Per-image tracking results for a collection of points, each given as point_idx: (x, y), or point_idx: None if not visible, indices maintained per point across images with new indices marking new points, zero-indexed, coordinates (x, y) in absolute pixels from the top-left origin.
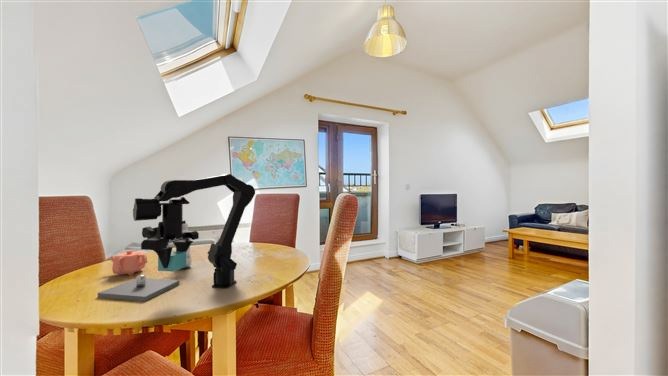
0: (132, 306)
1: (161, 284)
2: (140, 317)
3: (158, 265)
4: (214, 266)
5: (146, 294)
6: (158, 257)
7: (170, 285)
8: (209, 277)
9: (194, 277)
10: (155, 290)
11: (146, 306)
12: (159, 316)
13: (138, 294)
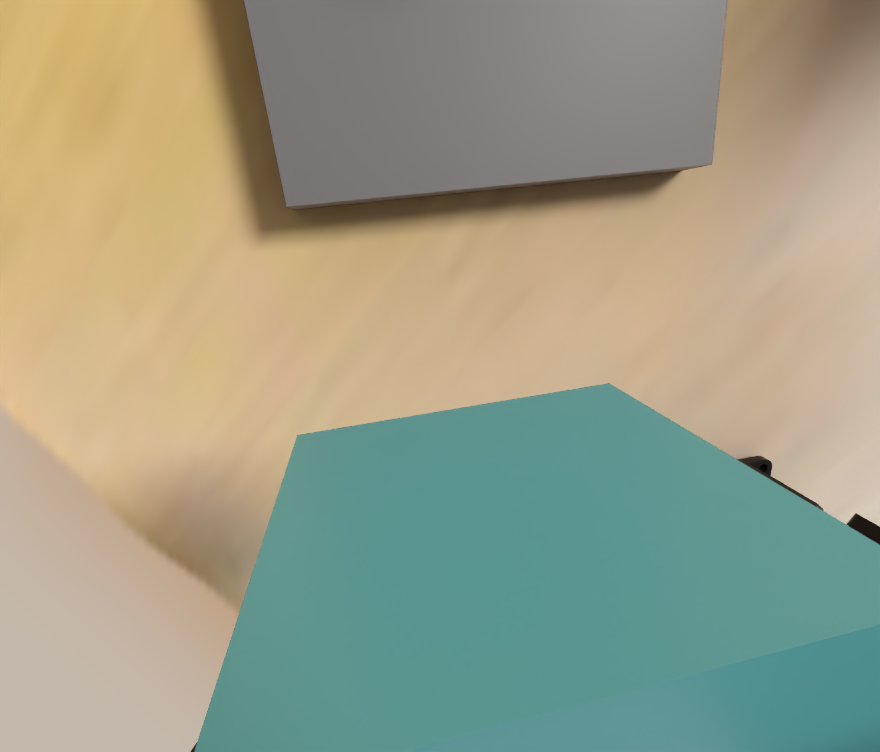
0: (175, 197)
1: (589, 66)
2: (88, 448)
3: (281, 502)
4: (854, 529)
5: (331, 167)
6: (220, 700)
7: (595, 177)
8: (842, 304)
9: (850, 166)
10: (437, 164)
11: (230, 319)
12: (166, 544)
13: (300, 71)
